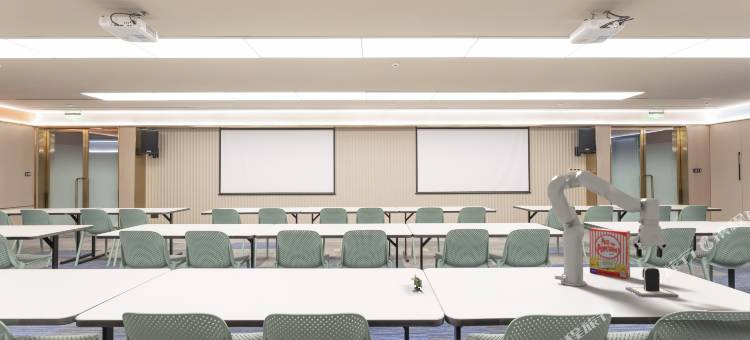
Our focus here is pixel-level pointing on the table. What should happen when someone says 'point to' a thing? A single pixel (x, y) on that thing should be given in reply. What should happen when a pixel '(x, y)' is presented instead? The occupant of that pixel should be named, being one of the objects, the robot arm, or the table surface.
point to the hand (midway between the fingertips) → (649, 256)
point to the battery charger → (651, 279)
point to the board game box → (610, 252)
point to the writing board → (651, 292)
